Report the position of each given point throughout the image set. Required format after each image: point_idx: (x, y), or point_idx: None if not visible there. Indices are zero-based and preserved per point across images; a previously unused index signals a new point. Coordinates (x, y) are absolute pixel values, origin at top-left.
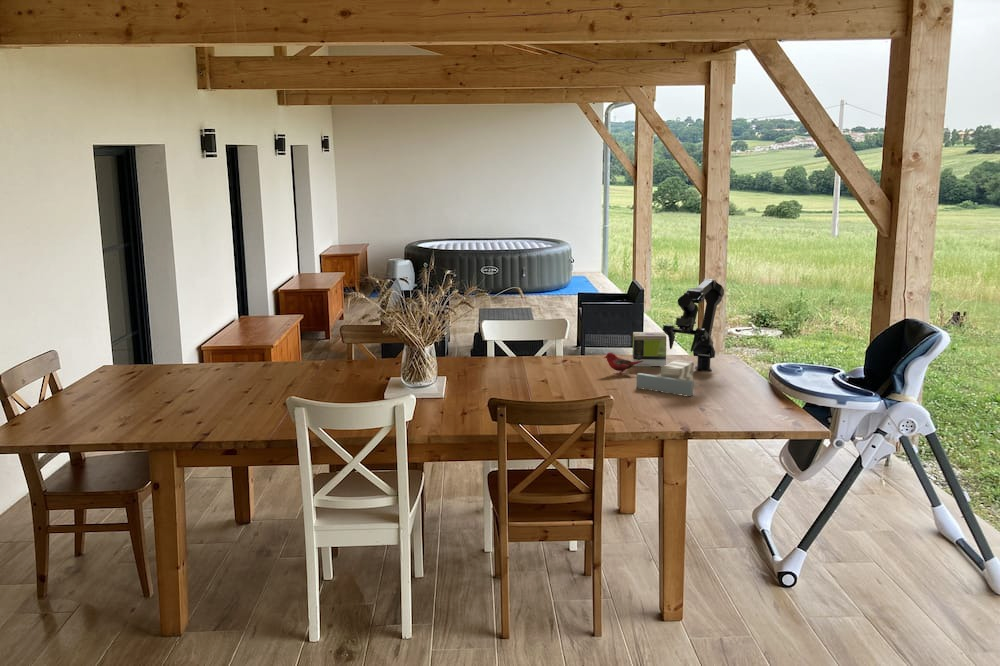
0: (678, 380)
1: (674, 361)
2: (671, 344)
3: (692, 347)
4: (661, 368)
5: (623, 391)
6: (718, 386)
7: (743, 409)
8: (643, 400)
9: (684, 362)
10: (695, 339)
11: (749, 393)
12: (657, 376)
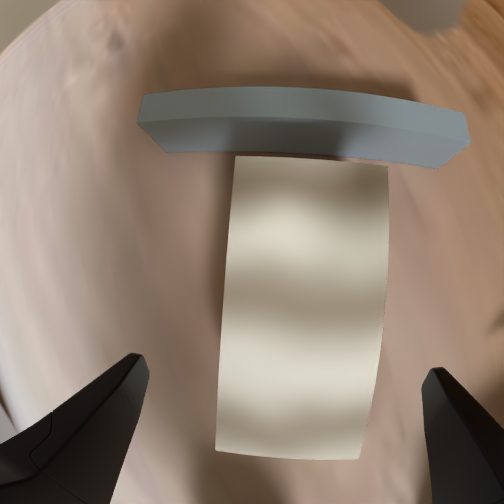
0: (215, 90)
1: (358, 404)
2: (449, 412)
3: (99, 379)
4: (381, 169)
5: (441, 81)
6: (111, 364)
7: (21, 119)
8: (320, 15)
9: (274, 414)
10: (14, 457)
11: (14, 305)
12: (359, 109)
